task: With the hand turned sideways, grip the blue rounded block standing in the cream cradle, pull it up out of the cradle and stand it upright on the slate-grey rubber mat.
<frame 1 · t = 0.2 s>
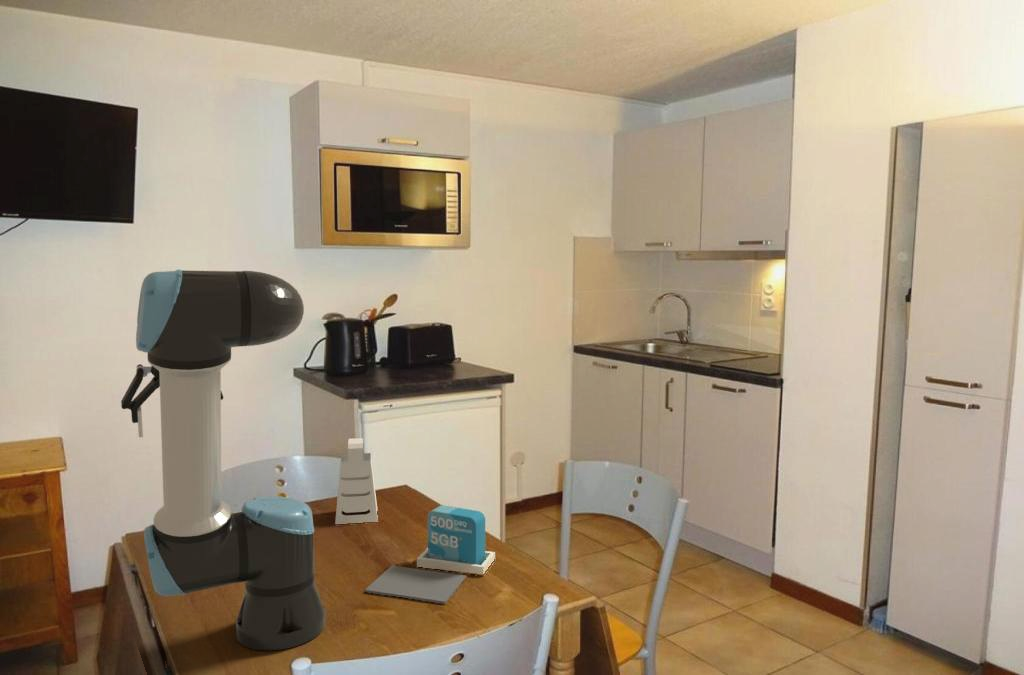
hand: (174, 430, 159), 27 cm above the table, tool tilted 20°, fingers open, 13 cm apart
cradle: (456, 564, 154), on the table
blue rounded block: (456, 565, 154), resting in cradle
mat: (417, 585, 144), on the table
grater: (356, 517, 183), on the table
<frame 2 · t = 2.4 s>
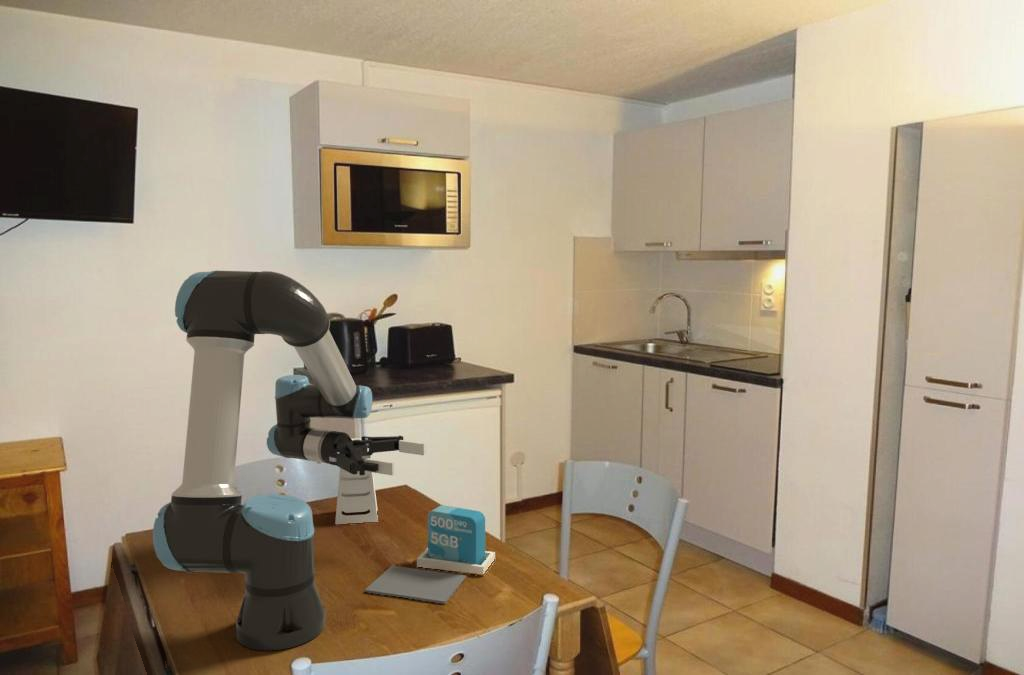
hand: (409, 458, 155), 23 cm above the table, tool horizontal, fingers open, 13 cm apart
nothing on the table moved.
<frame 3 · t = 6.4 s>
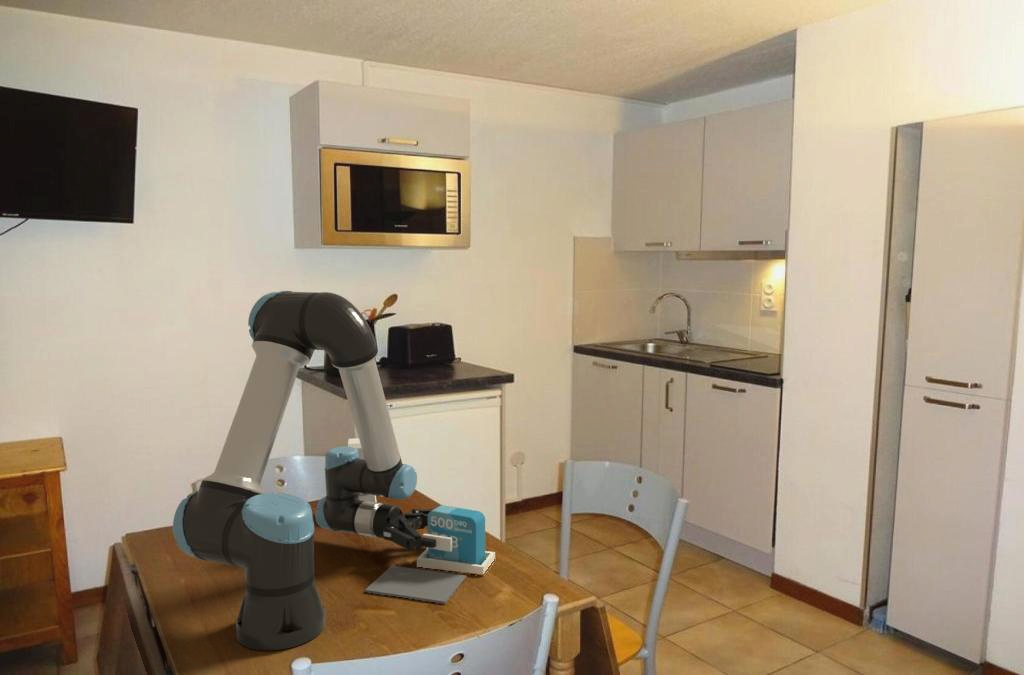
hand: (465, 533, 153), 7 cm above the table, tool horizontal, fingers open, 13 cm apart
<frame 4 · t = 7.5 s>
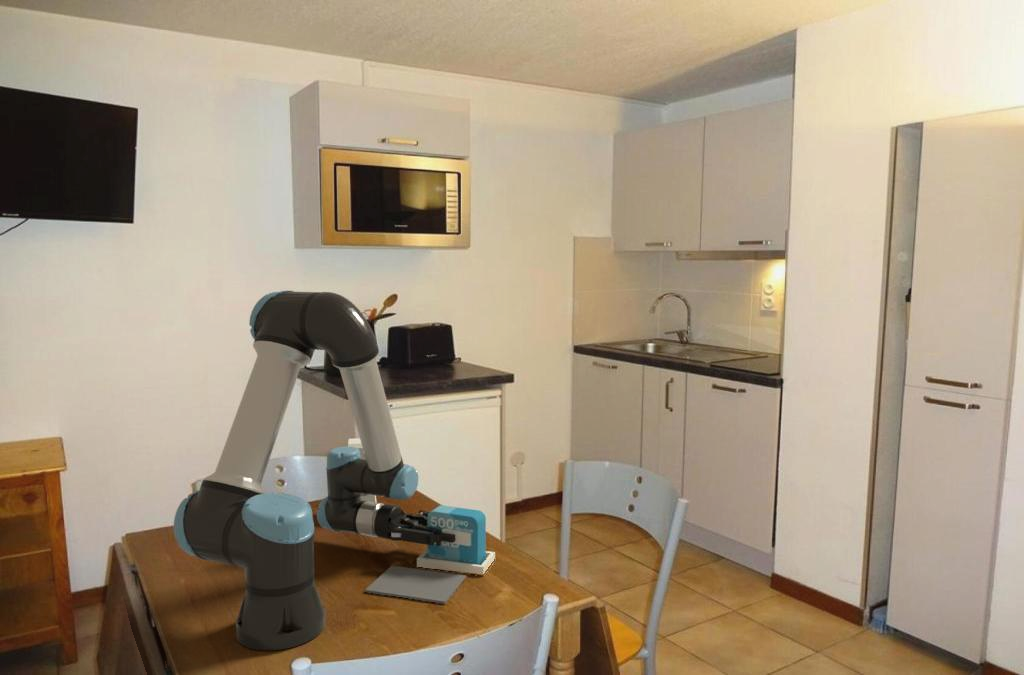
hand: (475, 535, 152), 7 cm above the table, tool horizontal, fingers closed on blue rounded block, 4 cm apart
blue rounded block: (456, 565, 154), resting in cradle, touching gripper
everything else where it was.
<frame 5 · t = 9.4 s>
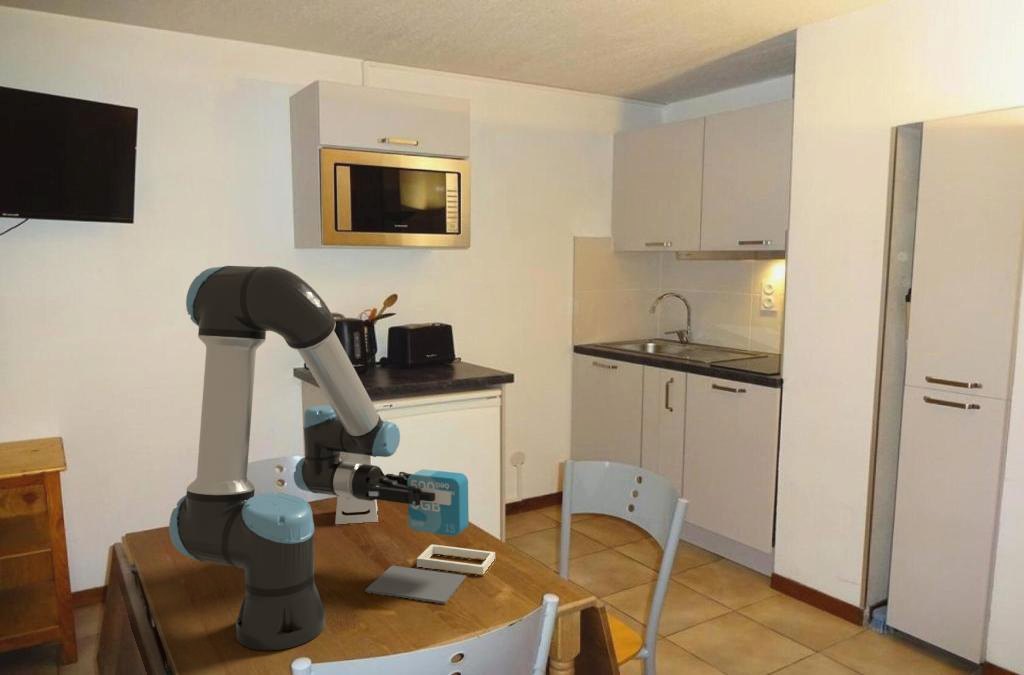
hand: (456, 494, 146), 18 cm above the table, tool horizontal, fingers closed on blue rounded block, 4 cm apart
blue rounded block: (438, 531, 148), point 10 cm above the table, touching gripper
when the fingers open (9 cm above the table, at t = 11.7 s): blue rounded block stays where it is, resting on mat.
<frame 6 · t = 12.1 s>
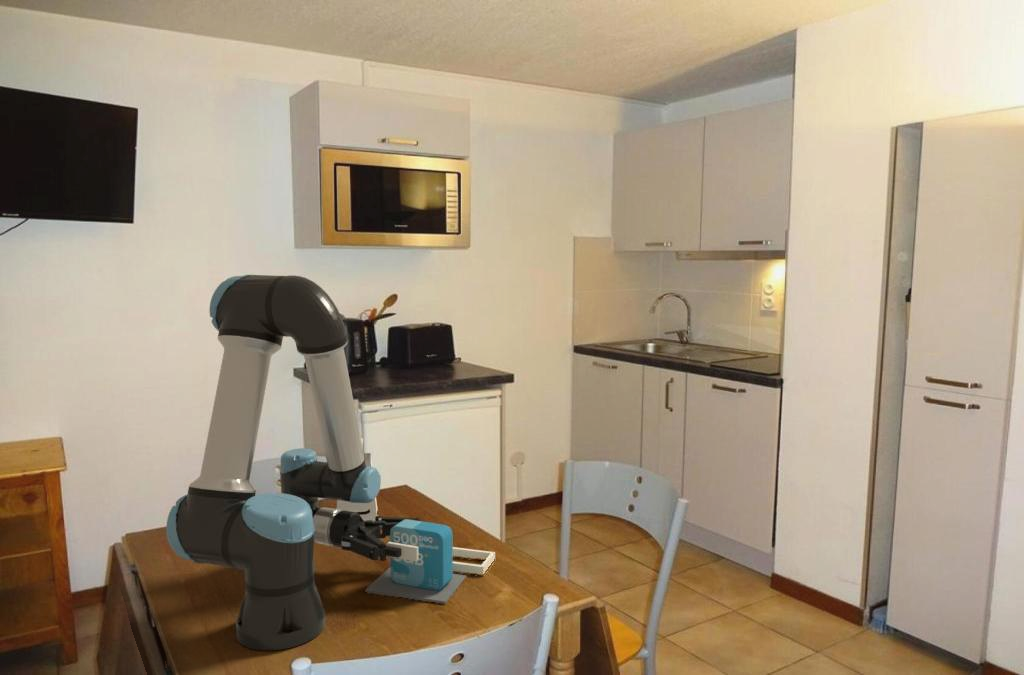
hand: (431, 543, 142), 9 cm above the table, tool horizontal, fingers open, 10 cm apart
blue rounded block: (421, 583, 144), resting on mat
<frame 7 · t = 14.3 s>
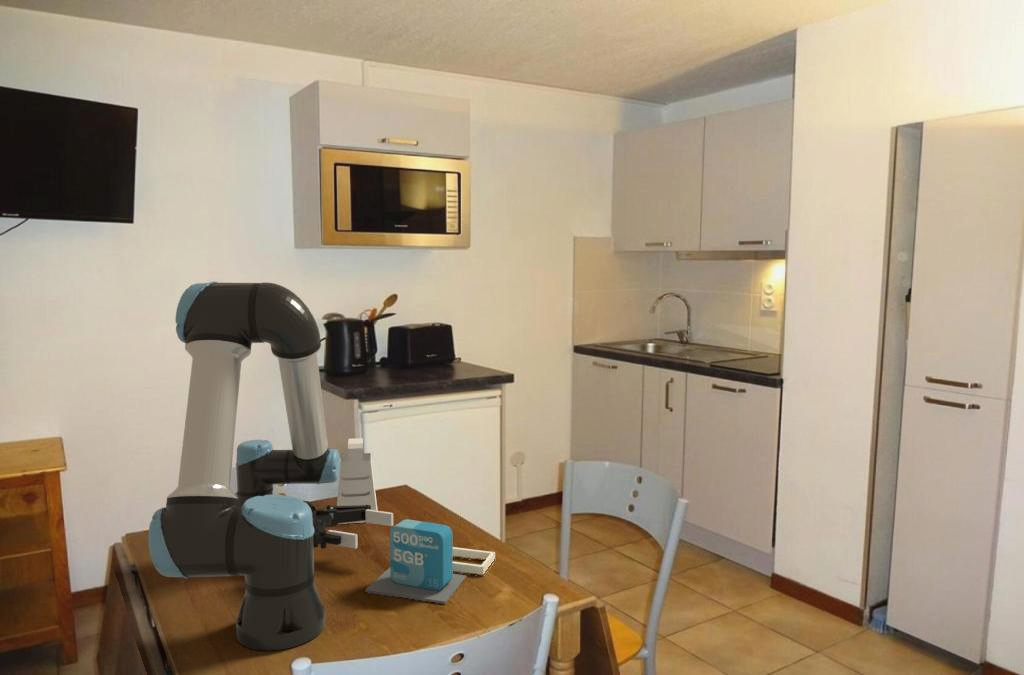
hand: (375, 530, 147), 10 cm above the table, tool horizontal, fingers open, 13 cm apart
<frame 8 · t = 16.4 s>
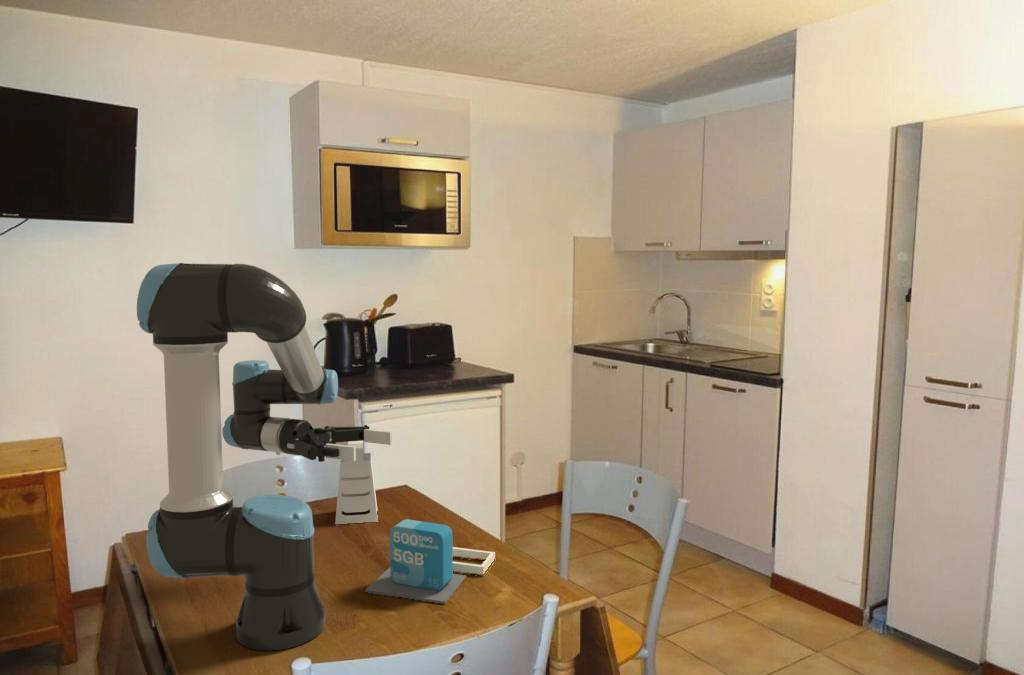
hand: (373, 445, 145), 28 cm above the table, tool horizontal, fingers open, 13 cm apart
at the end: blue rounded block inside the target area on the mat (0.9 cm from its centre), point 0.4 cm above the mat's base; blue rounded block tilted 0°; the gripper is holding nothing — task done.
